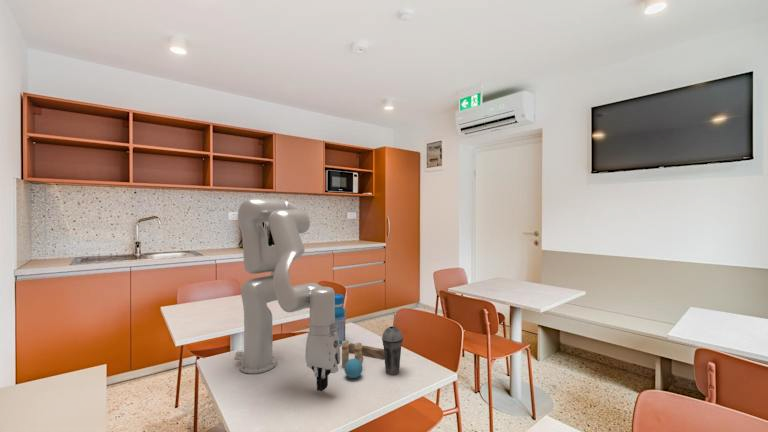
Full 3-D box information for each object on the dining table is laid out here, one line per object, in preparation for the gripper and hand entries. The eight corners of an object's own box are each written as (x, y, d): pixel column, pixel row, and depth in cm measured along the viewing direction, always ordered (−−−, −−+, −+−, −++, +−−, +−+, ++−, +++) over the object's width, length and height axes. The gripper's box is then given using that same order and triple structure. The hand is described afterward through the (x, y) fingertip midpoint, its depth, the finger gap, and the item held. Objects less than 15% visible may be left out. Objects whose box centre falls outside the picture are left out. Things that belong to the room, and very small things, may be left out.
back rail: (387, 357, 126) (387, 349, 126) (385, 359, 125) (385, 351, 125) (350, 350, 133) (350, 343, 133) (347, 352, 131) (347, 344, 131)
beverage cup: (377, 372, 115) (377, 314, 115) (391, 365, 120) (391, 310, 120) (393, 379, 110) (393, 319, 110) (407, 371, 115) (407, 314, 115)
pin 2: (353, 370, 116) (353, 345, 116) (355, 367, 118) (355, 342, 118) (360, 371, 115) (360, 345, 115) (362, 368, 118) (362, 342, 118)
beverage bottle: (336, 348, 135) (336, 299, 135) (321, 344, 140) (321, 296, 140) (349, 341, 142) (349, 295, 142) (334, 337, 147) (334, 292, 147)
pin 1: (341, 368, 118) (340, 342, 118) (342, 365, 120) (342, 340, 120) (347, 368, 117) (347, 343, 117) (349, 365, 120) (349, 340, 120)
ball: (346, 371, 115) (338, 372, 110) (355, 355, 116) (346, 354, 111) (360, 381, 112) (351, 382, 107) (368, 364, 113) (360, 364, 108)
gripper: (349, 328, 101) (349, 388, 101) (309, 321, 107) (309, 378, 108) (336, 336, 95) (336, 400, 95) (294, 328, 101) (294, 389, 101)
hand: (322, 388), depth 101 cm, fingers closed
